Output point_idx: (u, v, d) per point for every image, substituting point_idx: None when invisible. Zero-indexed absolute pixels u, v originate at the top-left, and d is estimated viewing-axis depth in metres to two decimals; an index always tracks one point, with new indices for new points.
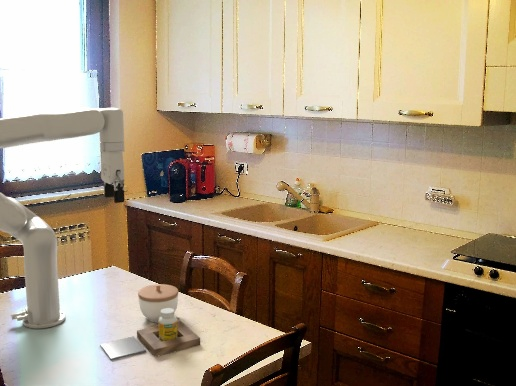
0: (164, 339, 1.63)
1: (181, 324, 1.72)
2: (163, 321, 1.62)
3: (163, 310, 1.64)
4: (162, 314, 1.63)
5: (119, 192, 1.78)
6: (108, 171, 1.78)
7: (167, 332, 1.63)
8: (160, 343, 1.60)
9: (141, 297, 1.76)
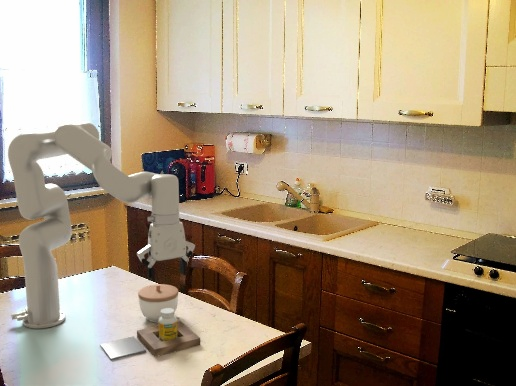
0: (164, 339, 1.63)
1: (181, 324, 1.72)
2: (163, 321, 1.62)
3: (163, 310, 1.64)
4: (162, 314, 1.63)
5: None
6: (182, 243, 1.60)
7: (167, 332, 1.63)
8: (160, 343, 1.60)
9: (141, 297, 1.76)
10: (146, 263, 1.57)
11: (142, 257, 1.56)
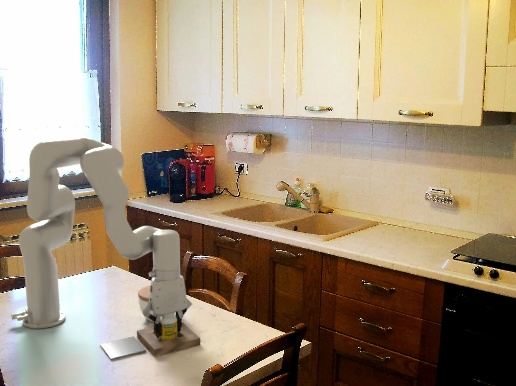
0: (164, 339, 1.63)
1: None
2: (163, 321, 1.62)
3: None
4: None
5: None
6: (182, 297, 1.63)
7: (167, 332, 1.63)
8: (160, 343, 1.60)
9: (141, 297, 1.76)
10: (153, 319, 1.61)
11: (148, 314, 1.60)
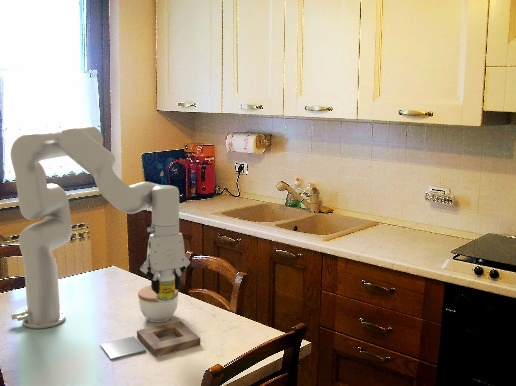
0: (162, 296, 1.61)
1: (181, 324, 1.72)
2: (161, 278, 1.60)
3: None
4: (160, 271, 1.60)
5: None
6: (181, 254, 1.60)
7: (165, 289, 1.60)
8: (160, 343, 1.60)
9: (141, 297, 1.76)
10: (151, 276, 1.59)
11: (146, 271, 1.58)
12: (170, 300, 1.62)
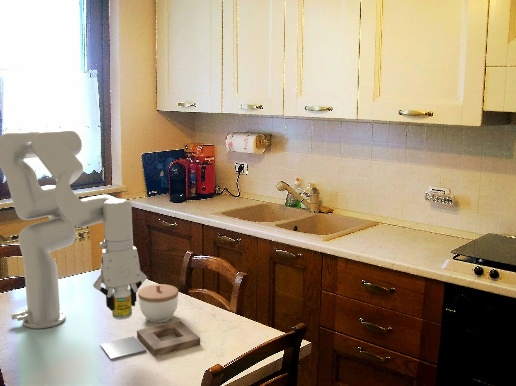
0: (117, 313, 1.56)
1: (181, 324, 1.72)
2: (116, 295, 1.55)
3: None
4: (115, 287, 1.55)
5: None
6: (135, 269, 1.56)
7: (120, 306, 1.55)
8: (160, 343, 1.60)
9: (141, 297, 1.76)
10: (105, 292, 1.54)
11: (99, 287, 1.53)
12: (126, 317, 1.57)
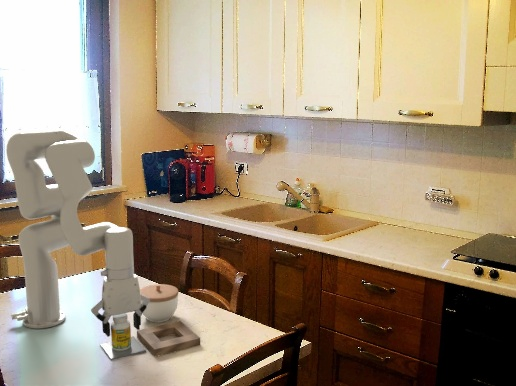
0: (116, 345, 1.58)
1: (181, 324, 1.72)
2: (115, 327, 1.57)
3: (116, 315, 1.59)
4: (114, 319, 1.57)
5: None
6: (136, 297, 1.57)
7: (119, 338, 1.57)
8: (160, 343, 1.60)
9: None
10: (101, 319, 1.55)
11: (96, 313, 1.54)
12: (125, 348, 1.59)
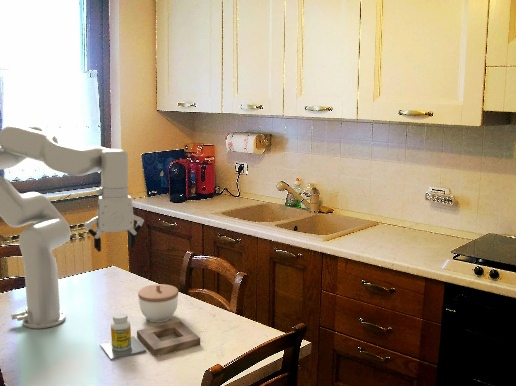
0: (116, 345, 1.58)
1: (181, 324, 1.72)
2: (115, 327, 1.57)
3: (116, 315, 1.59)
4: (114, 319, 1.57)
5: None
6: (129, 217, 1.65)
7: (119, 338, 1.57)
8: (160, 343, 1.60)
9: (141, 297, 1.76)
10: (93, 234, 1.62)
11: (89, 227, 1.62)
12: (125, 348, 1.59)
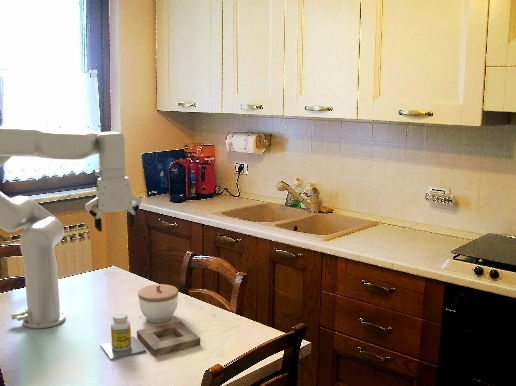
0: (116, 345, 1.58)
1: (181, 324, 1.72)
2: (115, 327, 1.57)
3: (116, 315, 1.59)
4: (114, 319, 1.57)
5: None
6: (128, 197, 1.71)
7: (119, 338, 1.57)
8: (160, 343, 1.60)
9: (141, 297, 1.76)
10: (93, 214, 1.68)
11: (89, 208, 1.68)
12: (125, 348, 1.59)
